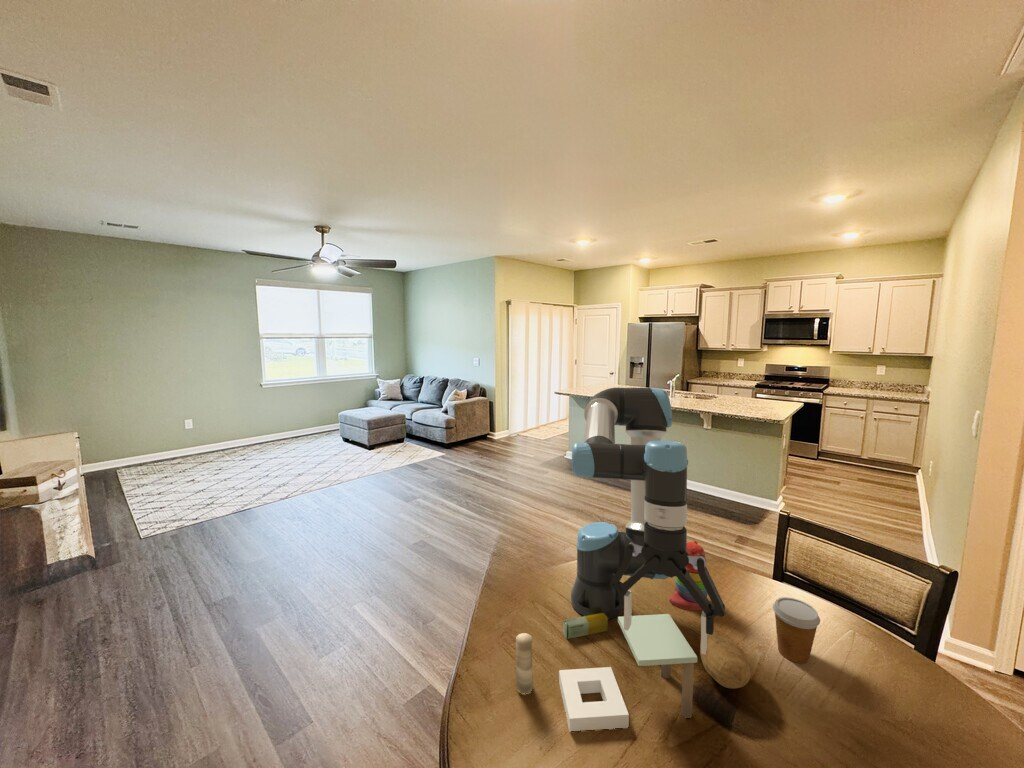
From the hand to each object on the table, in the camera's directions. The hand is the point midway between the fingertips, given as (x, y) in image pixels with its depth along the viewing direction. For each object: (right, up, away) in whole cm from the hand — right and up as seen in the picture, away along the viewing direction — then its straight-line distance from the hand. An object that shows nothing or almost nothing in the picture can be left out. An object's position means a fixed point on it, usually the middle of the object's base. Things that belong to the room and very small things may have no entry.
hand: (664, 638), depth 77 cm
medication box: (-9, -19, +33) cm, 39 cm away
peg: (-26, -21, +15) cm, 36 cm away
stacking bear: (+25, -17, +45) cm, 54 cm away
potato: (+20, -20, +18) cm, 34 cm away
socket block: (-11, -21, +11) cm, 26 cm away
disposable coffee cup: (+41, -19, +24) cm, 51 cm away
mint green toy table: (+2, -21, +13) cm, 24 cm away
